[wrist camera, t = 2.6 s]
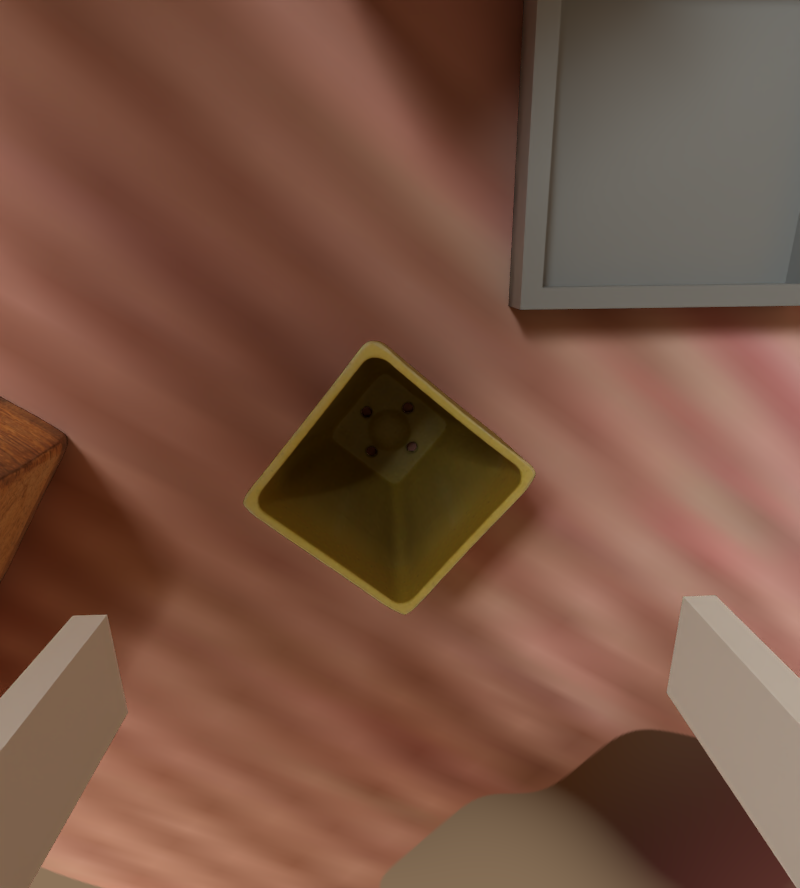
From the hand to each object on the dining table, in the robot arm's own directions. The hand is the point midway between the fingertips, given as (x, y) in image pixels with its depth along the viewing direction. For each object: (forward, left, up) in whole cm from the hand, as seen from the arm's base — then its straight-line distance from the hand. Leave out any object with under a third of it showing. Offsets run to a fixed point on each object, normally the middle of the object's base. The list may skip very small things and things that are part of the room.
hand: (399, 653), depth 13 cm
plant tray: (+14, +14, -19) cm, 27 cm away
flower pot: (0, 0, -19) cm, 19 cm away
